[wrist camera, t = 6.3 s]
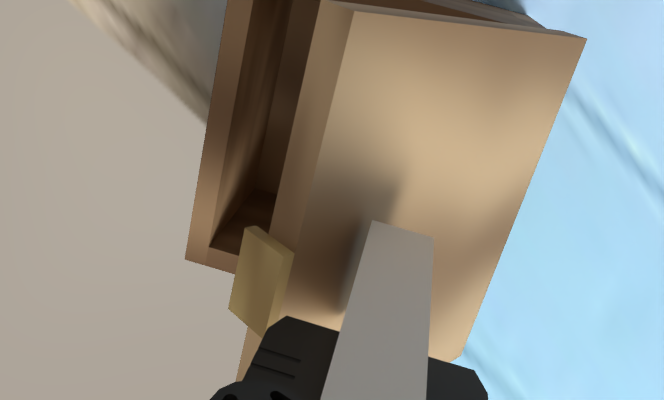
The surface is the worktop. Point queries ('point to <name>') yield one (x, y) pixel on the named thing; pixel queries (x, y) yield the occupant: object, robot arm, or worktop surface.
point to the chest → (268, 113)
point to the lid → (403, 161)
